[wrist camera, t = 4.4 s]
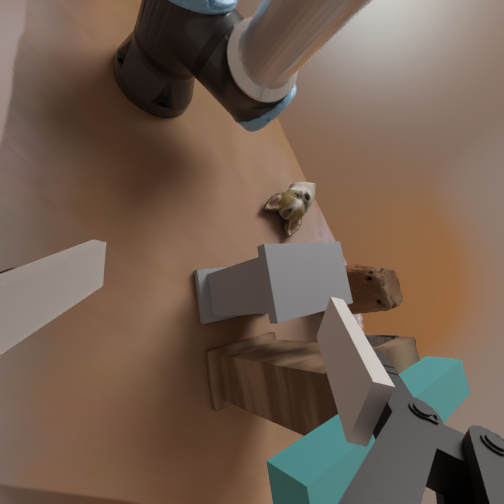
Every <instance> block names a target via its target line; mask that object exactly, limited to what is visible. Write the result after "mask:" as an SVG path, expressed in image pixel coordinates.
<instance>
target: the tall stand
mask: <svg viewBox="0 0 504 504" xmlns="http://www.w3.org/2000/svg"><path fill="white" fill-rule="evenodd" d="M371 347H372V349H375V350H379V351H381V352H382V353H383V354H384V355H385V356H386V357H387V358H388V359H389V360H390V362H391V363H392V365H393V366H394V369H395V370H396V371H397V373H398V374H400V373H401V372H403V371H404V370H406V369H407V368H409V367H410V366H412V365H414V364H415V363H417V362H418V361H420V360H419V356H418V352H417V348H416V344H415V339H414V337H397V338H395V339H393V340H390V341H388V342H386V343H384V344H382V345H380V346H378V347H376V346H371ZM205 359H206V366H207V374H208V382H209V389H210V397H211V404H212V409H213V410H215V411H217V410H220V409H222V408H224V407H226V406H229V405H231V404H234V405H236V406H238V407H240V408H243V409H245V410H247V411H249V412H252V413H254V414H256V415H258V416H261V417H263V418H265V419H268V420H270V421H272V422H274V423H277V424H279V425H281V426H283V427H286V428H288V429H290V430H292V431H295V432H297V433H299V434H302V435H304V436H305V435H307V434H308V433H310V432H311V431H313V430H314V429H316V428H317V427H319V426H321V425H322V424H324V423H325V422H327V421H328V420H330V419H331V418H333V417H334V416H336V415H337V414H338V410H337V407H336V403H335V400H334V396H333V393H332V390H331V386H330V383H329V379H328V376H327V372H326V369H325V366H324V362H323V359H322V355H321V352H320V348H319V345H318V343H316V342H301V341H286V340H276V336H275V332H270V333H266V334H263V335H259V336H256V337H252V338H249V339H246V340H242V341H239V342H235V343H232V344H228V345H225V346H221V347H218V348H215V349H211V350H208V351H205Z"/></svg>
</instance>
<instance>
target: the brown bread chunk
mask: <svg viewBox="0 0 504 504" xmlns="http://www.w3.org/2000/svg"><path fill="white" fill-rule="evenodd" d="M345 268H346V272H347V277H348V282H349V286H350V291H351V296H352V300H353V303H351V304H348V305H347V306H348V308H349V310H350V312H351V313H352V314H359V313H369V312H377V311H387V310H390V309H392V308H395V307H398V306H400V304H401V303H402V301H403V300H402V299H403V296H402V292H401V290H400V283H399V280H398V278H397V276H396V273H395V271H394V270H392V269H386V268H381V269H379V268H373V267H368V266H364V265H359V264H355V265H354V264H353V265H347V266H345ZM325 311H326V310H325ZM325 311H322V312H318V313H319V314H322V315H324V314H325Z"/></svg>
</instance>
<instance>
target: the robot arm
mask: <svg viewBox="0 0 504 504" xmlns="http://www.w3.org/2000/svg"><path fill="white" fill-rule="evenodd" d="M371 1H372V0H262V1H261V3H260V5H259V7H258V8H257V11H256V12H255V14H254V16H253V17H249V18H246V19H243V18H242V16H241V15H240V14H239V12H238V11H237V10H236V9H235V7H236V4H237V0H142V2H141V6H140V10H139V14H138V17H137V21H136V25H135V29H134V31H133V32H132V33H131V34H130V35H129V36H128V37H127V38H126V40H125V41H124V42H123V43H122V44H121V45H120V46H119V48H118V50H117V52H116V56H115V60H114V74H115V78H116V80H117V82H118V84H119V86H120V88H121V89H122V91H123V92H124V93H125V95H126V96H127V97H128V98H129V99H130V100H131V101H132V102H133V103H134V104H136V105H137V106H138V107H140V108H141V109H143V110H145V111H147V112H149V113H151V114H153V115H156V116H160V117H175V116H178V115H180V114H182V113H183V112H184V111H185V110H186V108H187V107H188V105H189V104H190V102H191V99H192V96H193V89H194V81H195V78H196V79H197V80H198V81H199V82H200V83H201V84H202V85H203V86H204V87H205V88H206V89H207V90H208V91H209V92H210V93H211V94H212V95H213V97H214V98H215V99H216V100H217V101H218V102H219V103H220V104H221V105H222V106H223V107H224V108H225V109H226V110H227V111H228V112H229V113H230V114H231V116H232V117H233V119H234V120H235V121H236V122H237V123H239V124H240V125H241V126H242V127H244V128H245V129H246V130H247V131H250V132H254V131H257V130H260V129H261V128H263V127H265V126H266V125H267V124H269V122H270V121H271V120H273V119H275V118H276V117H277V116H278V115H279V114H280V113H281V112H282V111H283V110H284V109H285V108H286V106H288V104H289V103H290V102H291V100H292V99H293V98H294V96H295V94H296V84H295V81H296V78H297V74H298V70H299V69H300V68H301V67H302V66H303V65H304V64H305V63H306V62H307V61H308V60H309V59H310V58H311V57H313V56H314V55H315V54H316V53H317V52H318V51H319V50H320V49H321V48H322V47H323V46H324V45H325V44H326V43H327V42H328V41H330V40H331V38H332V37H334V36H335V35H336V34H337V33H338V32H339V31H340V30H341V29H342V28H343V27H344V26H345V25H346V24H348V23H349V21H351V20H352V19H353V18H354V17H355V16H356V15H357V14H358V13H359V12H360V11H361V10H362V9H363V8H364V7H366V5H368V4H369V3H370V2H371ZM105 253H106V242H102V241H98V240H94V239H93V240H90V241H87V242H85V243H82V244H79V245H77V246H74V247H71V248H69V249H66V250H63V251H61V252H58V253H55V254H52V255H50V256H47V257H44V258H42V259H39V260H36V261H34V262H31V263H28V264H26V265H23V266H20V267H17V268H11V269H7V270H5V271H2V272H0V355H1V354H3V353H4V352H6V351H7V350H9V349H10V348H12V347H13V346H15V345H16V344H18V343H19V342H21V341H22V340H24V339H25V338H27V337H28V336H30V335H31V334H32V333H34V332H35V331H37V330H38V329H40V328H41V327H43V326H44V325H46V324H47V323H49V322H50V321H52V320H53V319H55V318H56V317H58V316H59V315H61V314H62V313H64V312H65V311H67V310H68V309H70V308H71V307H73V306H74V305H76V304H77V303H78V302H80V301H81V300H83V299H84V298H86V297H87V296H89V295H90V294H92V293H93V292H95V291H96V290H98V289H99V288H101V287H102V286H103V278H104V265H105ZM316 338H317V341H318V345H319V348H320V352H321V355H322V359H323V362H324V366H325V369H326V372H327V376H328V379H329V383H330V386H331V390H332V393H333V396H334V400H335V403H336V407H337V410H338V414H339V417H340V421H341V424H342V427H343V431H344V434H345V438H346V441H347V442H349V443H353V444H357V445H362V446H366V447H367V446H368V444H369V442H370V440H371V437H372V435H374V438H375V442H374V444H373V445H372V447H371V449H370V450H369V452H368V454H367V456H366V457H365V459H364V461H363V462H362V464H361V466H360V467H359V469H358V471H357V472H356V474H355V476H354V477H353V479H352V481H351V482H350V484H349V486H348V488H347V489H346V491H345V493H344V494H343V496H342V498H341V499H340V501H339V503H338V504H420V503H421V500H422V496H423V493H424V490H425V486H426V487H428V488H430V489H432V490H433V491H435V492H436V499H437V504H504V439H502V438H501V437H500V436H499V435H497V434H495V433H493V432H491V431H490V430H488V429H485V428H483V427H480V426H471V427H470V428H469V429H468V431H467V432H466V434H463V433H461V432H458V431H456V430H454V429H452V428H450V427H448V426H445V425H444V424H443V421H442V419H441V417H440V416H439V414H438V413H437V412H436V411H435V410H434V409H433V408H432V407H430V406H429V405H428V404H426V403H425V402H423V401H421V400H420V399H418V398H415V397H413V396H412V394H411V393H410V391H409V390H408V388H407V386H406V385H405V383H404V382H403V380H402V379H401V377H400V376H399V374H398V373H397V371H396V370H395V369H394V366H393V365H392V363H391V362H390V360H389V359H388V358H387V357H386V356H385V355H384V354H383V353H382V352H381V351H379V350H375V349H372V347H371V345H370V343H369V342H368V340H367V338H366V337H365V335H364V333H363V332H362V330H361V328H360V327H359V325H358V323H357V322H356V320H355V318H354V317H353V315H352V313H351V312H350V310H349V308H348V306H347V305H346V303H345V301H344V300H343V299H339V298H335V297H330V299H329V302H328V305H327V308H326V311H325V314H324V316H323V319H322V322H321V325H320V328H319V331H318V334H317V337H316Z"/></svg>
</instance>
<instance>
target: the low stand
mask: <svg viewBox="0 0 504 504" xmlns="http://www.w3.org/2000/svg"><path fill="white" fill-rule="evenodd" d="M257 249H258V255H259V257H258V258H255V259H252V260H249V261H246V262H243V263H240V264H237V265H234V266H231V267H223V268H212V269H201V270H195V271H194V275H195V283H196V291H197V298H198V306H199V313H200V321H201V324H206V323H211V322H215V321H220V320H224V319H229V318H233V317H238V316H242V315H246V314H265V313H268V314H269V320H270V323H281V322H285V321H288V320H292V319H296V318H299V317H303V316H307V315H310V314H314V313H318V312H322V311H325V310H326V308H327V305H328V302H329V299H330V297H335V298H339V299H343V300H344V301H345V303H346V305H348V304H351V303H353V300H352V296H351V291H350V286H349V282H348V277H347V272H346V268H345V263H344V258H343V254H342V249H341V244H340V242H313V243H283V244H263V245H261V246H258V247H257Z"/></svg>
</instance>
